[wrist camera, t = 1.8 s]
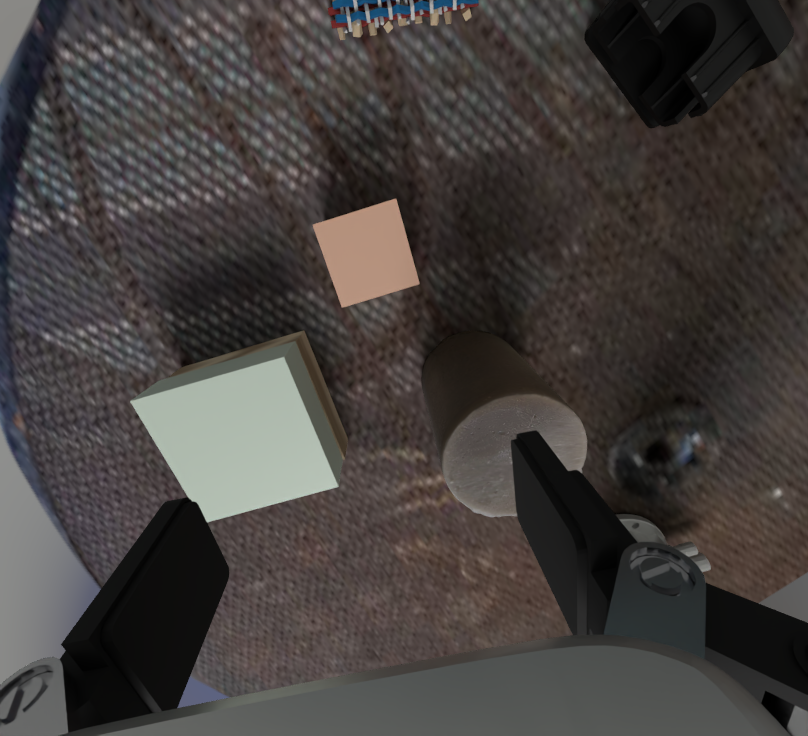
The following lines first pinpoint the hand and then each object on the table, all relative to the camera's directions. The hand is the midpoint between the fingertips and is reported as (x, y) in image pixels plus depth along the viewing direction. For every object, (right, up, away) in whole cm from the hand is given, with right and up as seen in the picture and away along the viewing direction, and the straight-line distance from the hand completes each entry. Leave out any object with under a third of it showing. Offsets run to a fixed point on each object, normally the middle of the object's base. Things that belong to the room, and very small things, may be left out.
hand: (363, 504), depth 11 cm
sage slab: (-12, -1, +23) cm, 26 cm away
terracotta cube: (-2, +14, +22) cm, 26 cm away
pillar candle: (+8, +3, +26) cm, 28 cm away
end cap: (+20, +28, +18) cm, 39 cm away
